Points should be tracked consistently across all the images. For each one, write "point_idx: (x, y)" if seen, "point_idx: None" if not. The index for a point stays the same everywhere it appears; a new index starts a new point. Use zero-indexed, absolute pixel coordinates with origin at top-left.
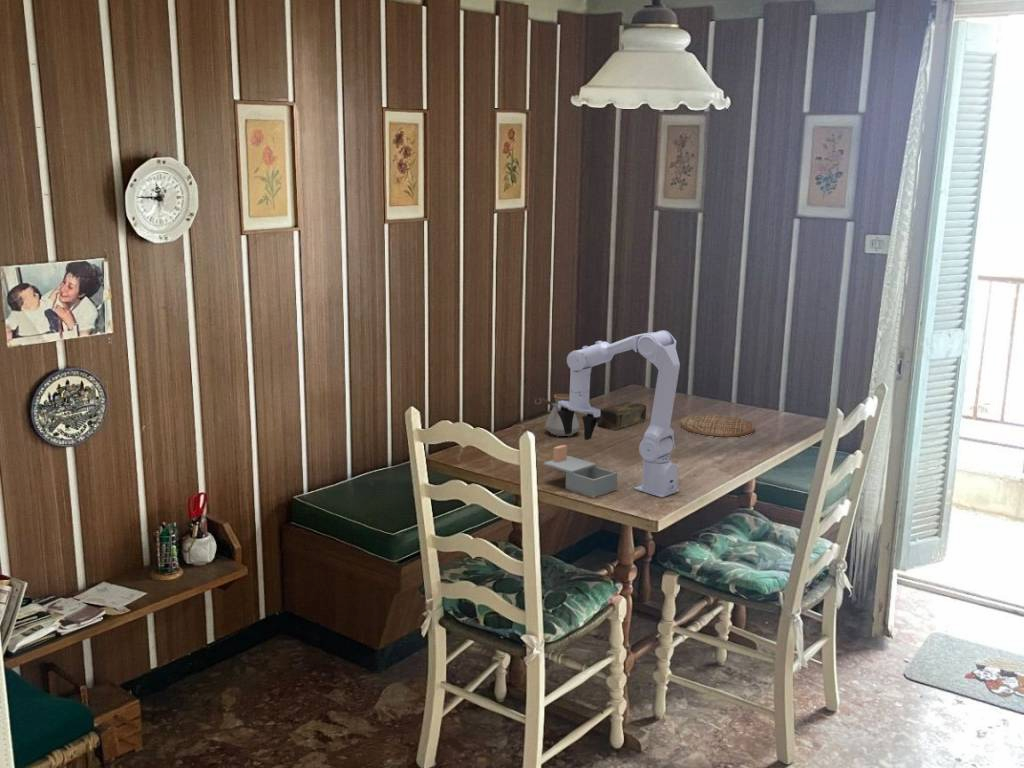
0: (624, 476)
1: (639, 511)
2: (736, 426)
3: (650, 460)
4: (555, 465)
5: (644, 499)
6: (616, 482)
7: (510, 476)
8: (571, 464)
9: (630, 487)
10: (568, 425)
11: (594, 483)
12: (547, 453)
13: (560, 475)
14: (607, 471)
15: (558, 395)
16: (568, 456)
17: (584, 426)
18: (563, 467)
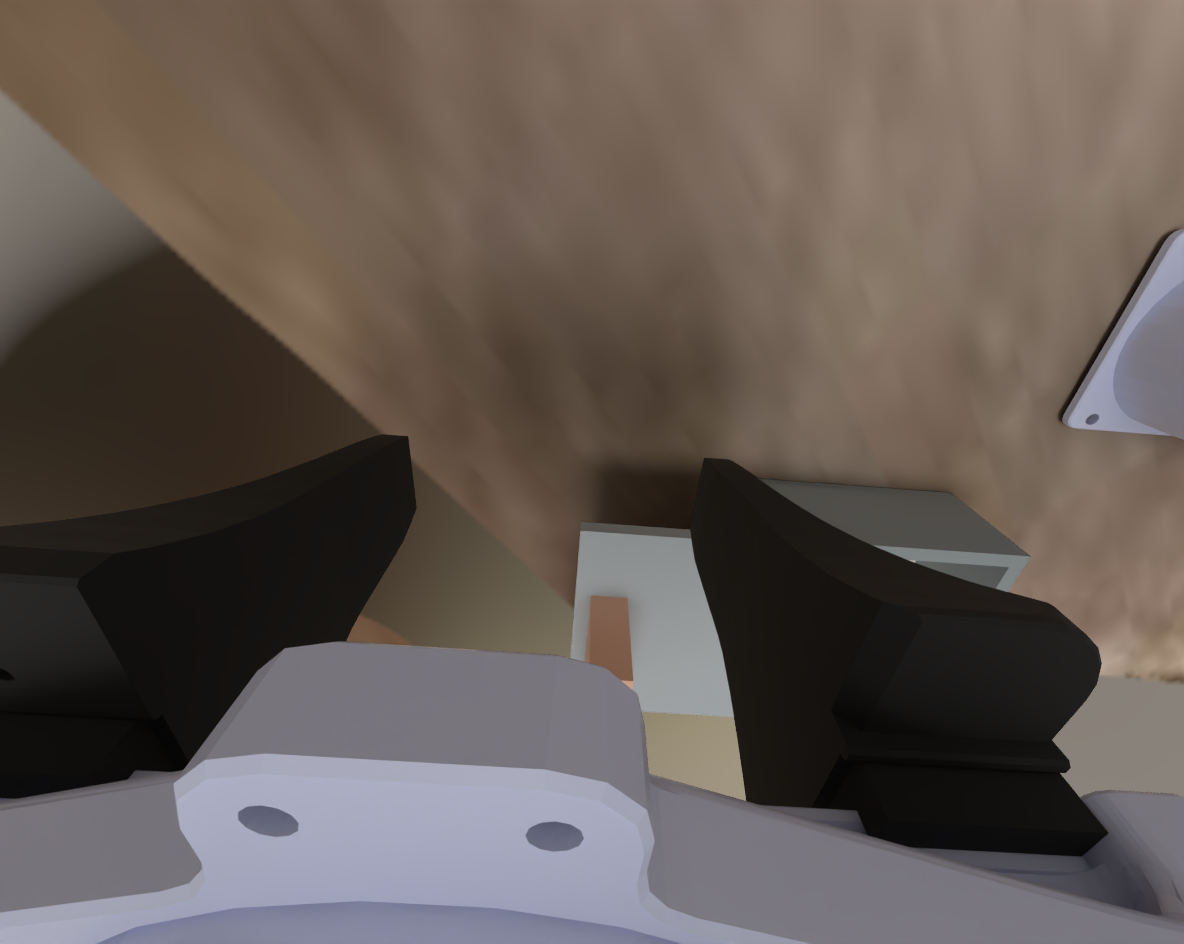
0: (917, 222)
1: (1130, 638)
2: None
3: None
4: (649, 704)
5: (1139, 511)
6: (981, 521)
7: (411, 645)
8: (713, 647)
9: (1020, 400)
10: (363, 541)
11: None
12: (103, 150)
13: (563, 496)
14: (948, 559)
15: None
16: (593, 543)
17: (737, 687)
18: (706, 703)
